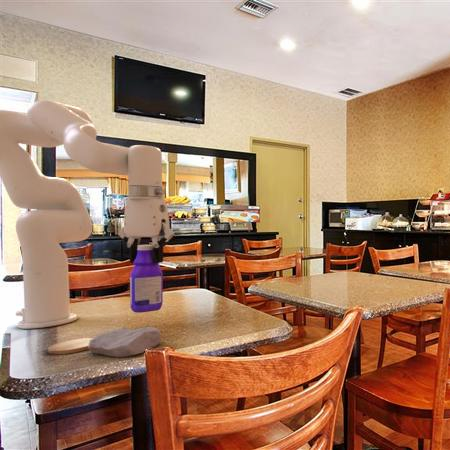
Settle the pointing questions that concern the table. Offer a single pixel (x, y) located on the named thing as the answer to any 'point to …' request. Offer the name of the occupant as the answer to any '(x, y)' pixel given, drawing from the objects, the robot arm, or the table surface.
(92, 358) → the table surface
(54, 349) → the cork coaster
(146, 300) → the bottle
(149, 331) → the stone block
